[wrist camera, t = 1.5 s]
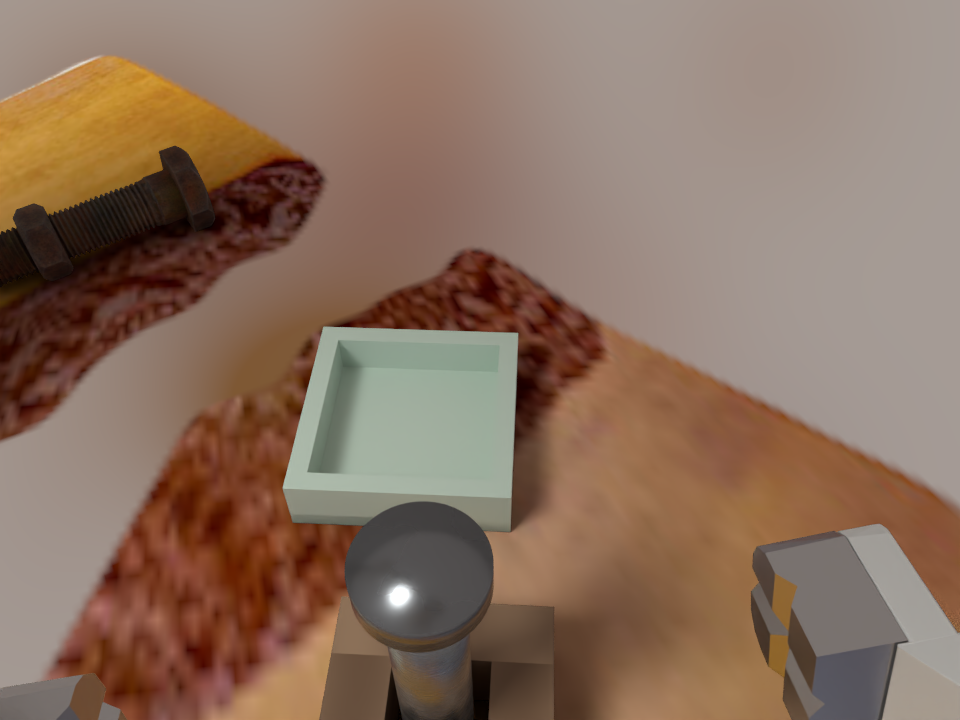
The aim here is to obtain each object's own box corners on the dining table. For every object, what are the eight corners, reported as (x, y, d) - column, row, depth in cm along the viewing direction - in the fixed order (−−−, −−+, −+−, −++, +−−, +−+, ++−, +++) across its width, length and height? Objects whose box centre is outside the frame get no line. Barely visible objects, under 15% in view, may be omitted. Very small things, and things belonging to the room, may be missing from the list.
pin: (383, 798, 36) (332, 630, 25) (396, 691, 39) (356, 498, 28) (491, 804, 36) (489, 637, 25) (496, 696, 39) (496, 504, 28)
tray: (292, 522, 45) (282, 488, 43) (330, 362, 52) (323, 326, 50) (510, 532, 44) (511, 498, 42) (517, 369, 52) (518, 332, 49)
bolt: (-4, 305, 59) (210, 222, 64) (-8, 318, 54) (223, 227, 59) (-49, 223, 57) (175, 143, 62) (-56, 229, 52) (186, 143, 57)
